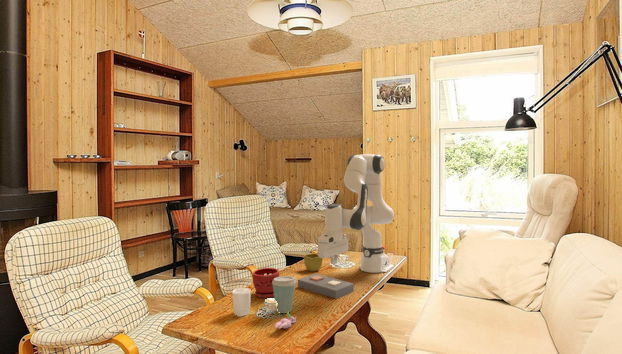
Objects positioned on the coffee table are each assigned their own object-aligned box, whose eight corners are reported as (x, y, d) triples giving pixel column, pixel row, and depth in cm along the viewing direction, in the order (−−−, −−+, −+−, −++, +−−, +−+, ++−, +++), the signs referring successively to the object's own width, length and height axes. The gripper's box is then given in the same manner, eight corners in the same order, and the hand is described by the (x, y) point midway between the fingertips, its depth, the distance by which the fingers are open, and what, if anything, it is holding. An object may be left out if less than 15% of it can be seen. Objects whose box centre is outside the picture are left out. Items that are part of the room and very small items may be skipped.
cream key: (333, 286, 193) (333, 280, 193) (341, 288, 190) (341, 282, 190) (327, 288, 190) (327, 282, 190) (334, 290, 186) (334, 284, 186)
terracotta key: (316, 281, 202) (316, 275, 201) (323, 283, 198) (323, 277, 198) (309, 283, 198) (309, 277, 198) (316, 285, 194) (316, 279, 194)
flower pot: (323, 270, 227) (323, 256, 227) (311, 273, 222) (311, 258, 222) (315, 267, 234) (314, 253, 234) (303, 269, 230) (303, 255, 229)
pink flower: (286, 322, 157) (269, 331, 143) (287, 307, 157) (270, 315, 144) (300, 324, 154) (284, 334, 141) (301, 309, 155) (285, 317, 141)
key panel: (315, 280, 208) (315, 273, 208) (353, 291, 190) (353, 283, 190) (297, 286, 198) (297, 279, 198) (335, 298, 180) (335, 290, 180)
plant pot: (265, 288, 195) (265, 266, 195) (284, 293, 188) (284, 270, 187) (247, 296, 184) (246, 272, 184) (267, 301, 177) (266, 276, 176)
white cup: (235, 309, 167) (234, 287, 167) (252, 309, 167) (252, 287, 167) (230, 317, 159) (230, 293, 159) (249, 317, 159) (248, 293, 159)
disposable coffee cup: (267, 310, 166) (267, 277, 166) (287, 304, 173) (287, 272, 172) (280, 318, 158) (280, 282, 157) (301, 312, 164) (301, 278, 164)
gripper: (341, 232, 199) (342, 258, 199) (315, 238, 184) (315, 266, 184) (351, 234, 194) (351, 260, 195) (325, 240, 179) (325, 269, 180)
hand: (333, 263), depth 189 cm, fingers closed
